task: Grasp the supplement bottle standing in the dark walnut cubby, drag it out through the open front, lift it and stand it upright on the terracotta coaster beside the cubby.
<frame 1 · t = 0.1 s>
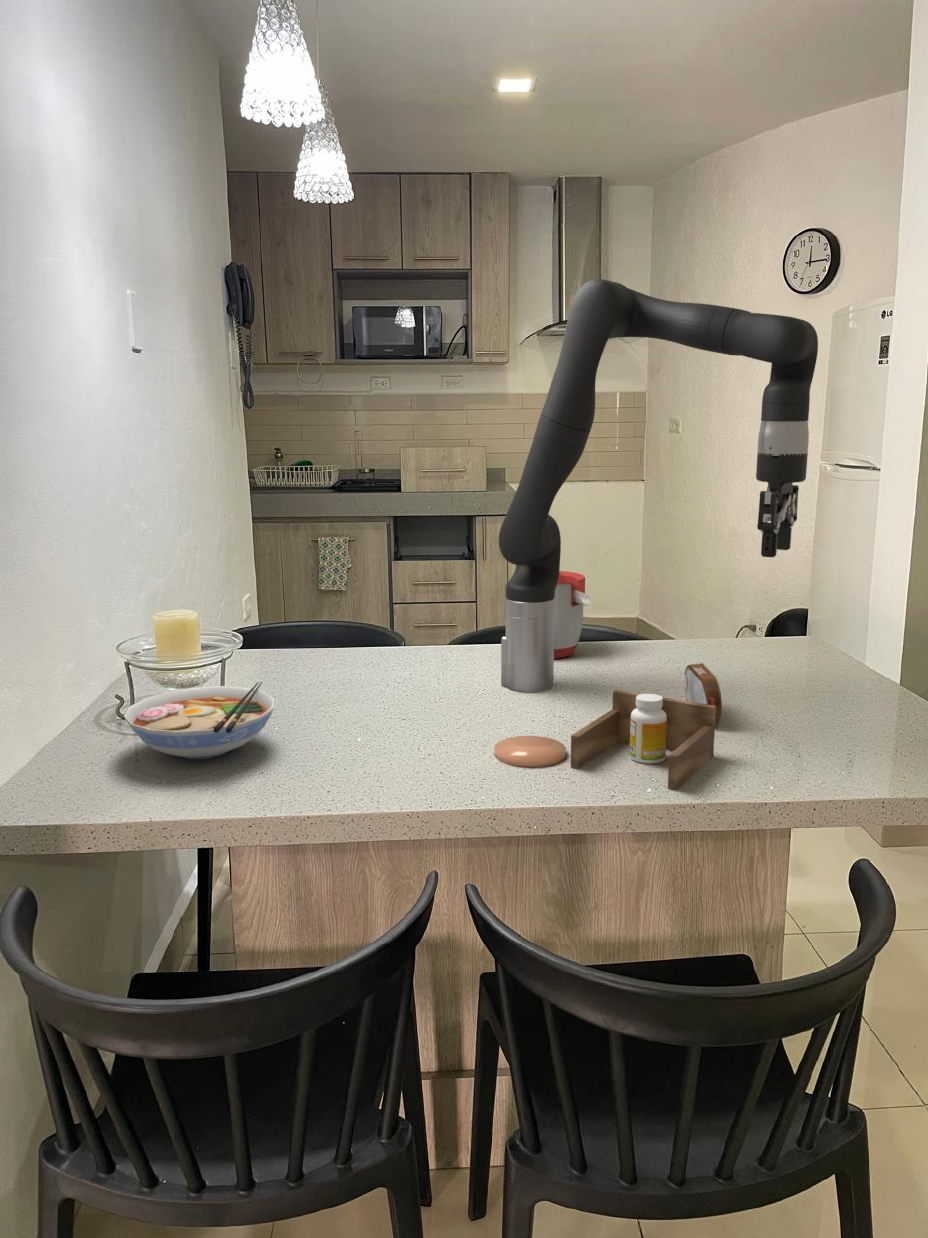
hand: (775, 553, 152), 29 cm above the breakfast bar counter, fingers open, 8 cm apart
ramen bowl: (204, 752, 149), on the breakfast bar counter
cubby: (647, 758, 145), on the breakfast bar counter
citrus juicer: (551, 654, 207), on the breakfast bar counter
tin: (700, 717, 165), on the breakfast bar counter
coaster: (530, 754, 147), on the breakfast bar counter
supplement bottle: (647, 759, 145), resting in cubby
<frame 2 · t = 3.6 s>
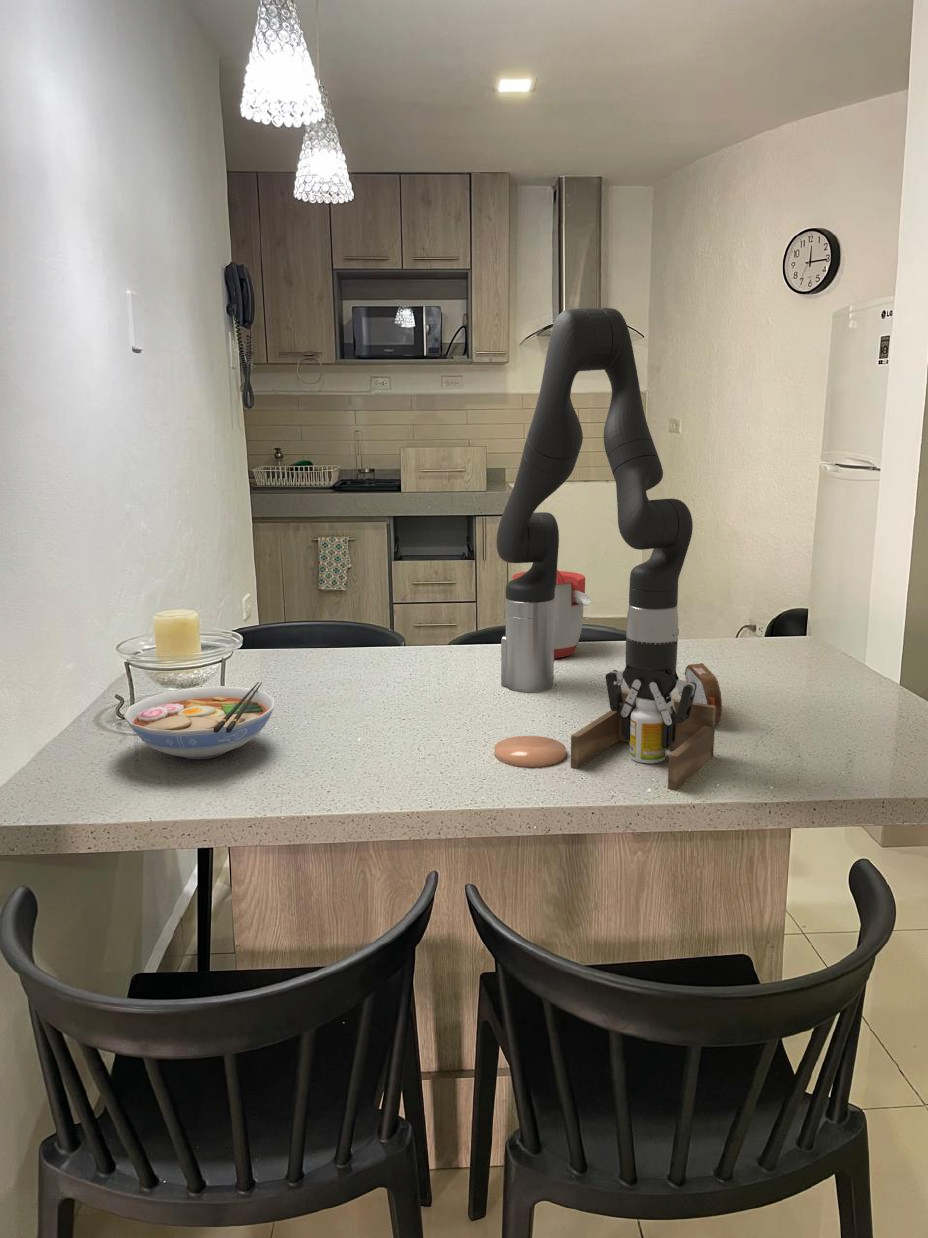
hand: (648, 742, 144), 3 cm above the breakfast bar counter, fingers closed on supplement bottle, 5 cm apart
supplement bottle: (647, 759, 145), resting in cubby, touching gripper
everything else where it was.
when the fingers open (5 cm above the breakfast bar counter, at t = 12.6 s): supplement bottle drops 2 cm, resting on coaster.
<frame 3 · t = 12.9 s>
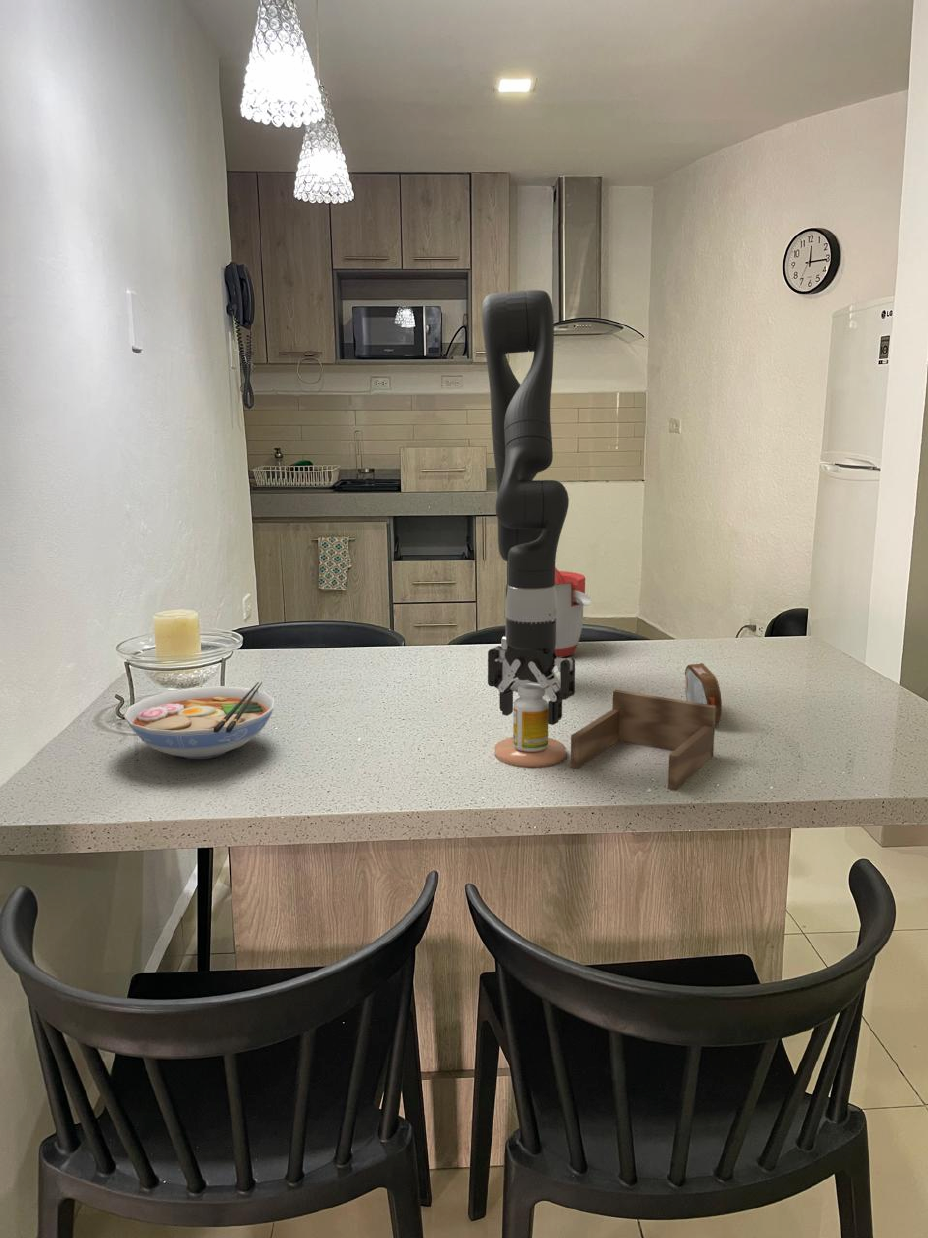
hand: (530, 718, 146), 6 cm above the breakfast bar counter, fingers open, 7 cm apart
supplement bottle: (530, 748, 147), point 1 cm above the breakfast bar counter, touching coaster
everything else where it was.
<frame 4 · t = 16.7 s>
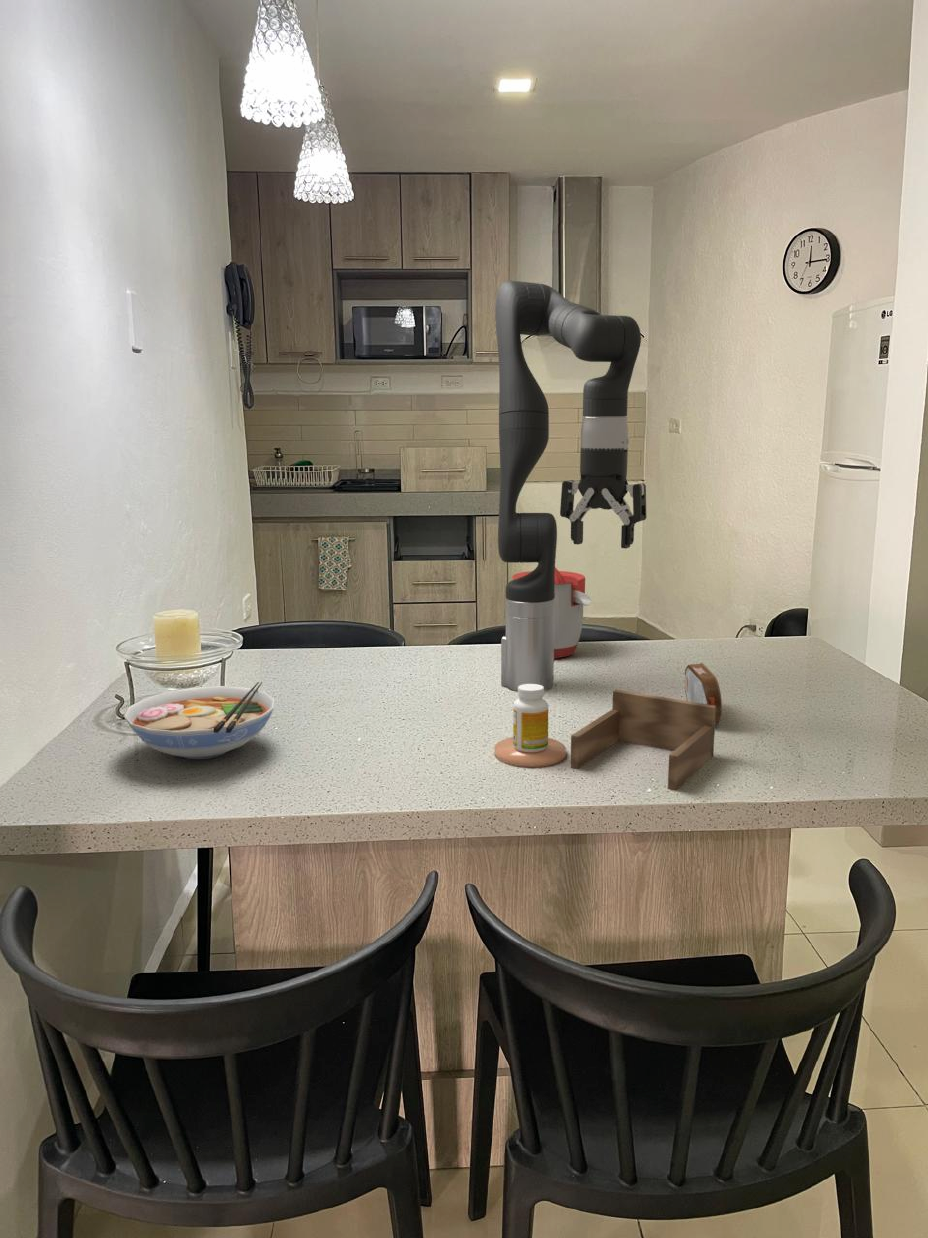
hand: (601, 545, 156), 30 cm above the breakfast bar counter, fingers open, 8 cm apart
nothing on the breakfast bar counter moved.
at the end: supplement bottle 0.1 cm off-centre on the coaster, point 0.8 cm above the coaster's base; supplement bottle tilted 1°; the gripper is holding nothing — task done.
